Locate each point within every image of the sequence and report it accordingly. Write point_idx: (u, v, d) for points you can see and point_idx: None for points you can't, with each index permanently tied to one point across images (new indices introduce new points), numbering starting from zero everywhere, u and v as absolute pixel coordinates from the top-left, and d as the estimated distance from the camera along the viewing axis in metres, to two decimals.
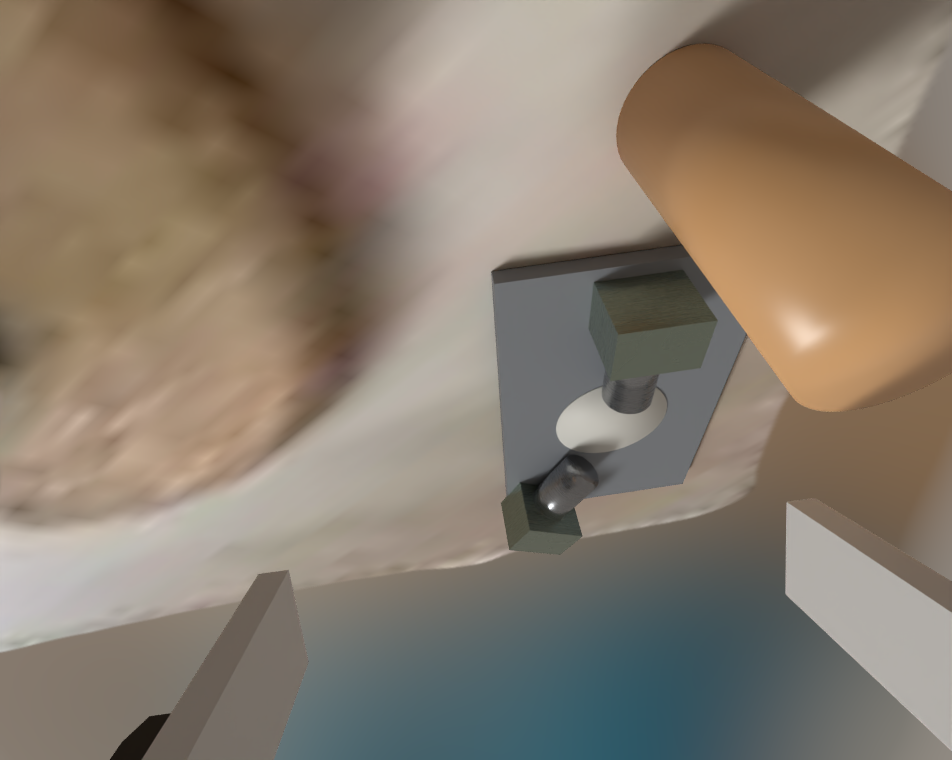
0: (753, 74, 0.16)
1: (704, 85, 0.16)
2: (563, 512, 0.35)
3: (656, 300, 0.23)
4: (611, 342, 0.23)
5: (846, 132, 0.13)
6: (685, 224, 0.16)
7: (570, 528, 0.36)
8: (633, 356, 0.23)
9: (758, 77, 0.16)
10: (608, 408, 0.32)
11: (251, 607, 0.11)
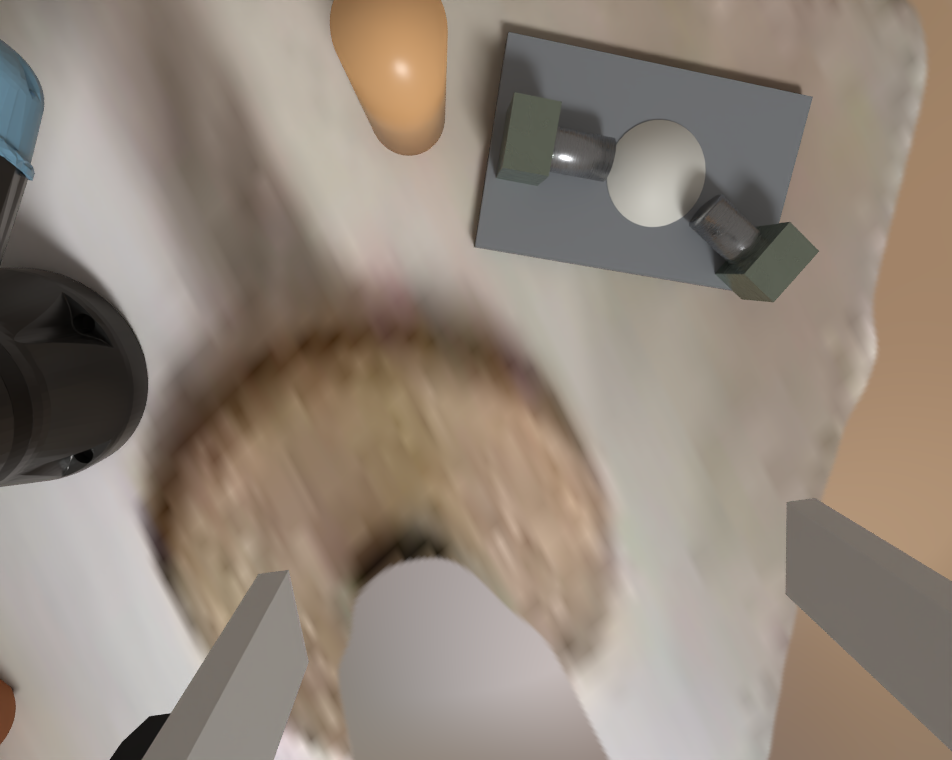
0: None
1: None
2: (747, 236, 0.35)
3: (505, 135, 0.33)
4: (516, 172, 0.33)
5: None
6: (399, 128, 0.29)
7: (775, 233, 0.34)
8: (528, 156, 0.32)
9: None
10: (638, 176, 0.36)
11: (250, 607, 0.11)
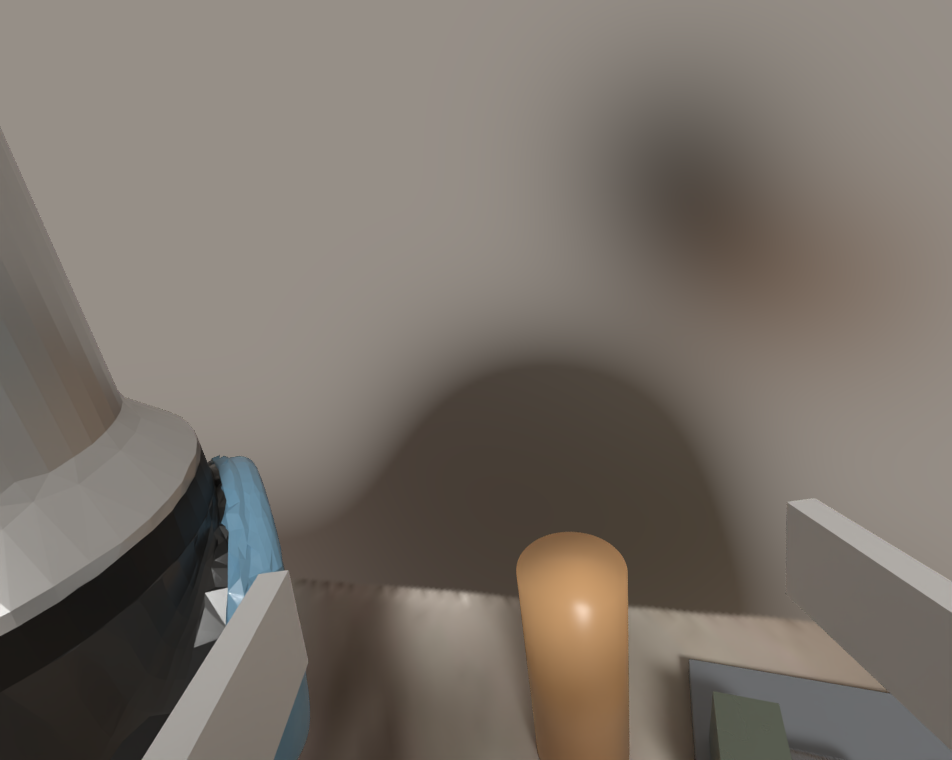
0: None
1: (533, 714, 0.28)
2: None
3: (715, 755, 0.25)
4: None
5: None
6: (575, 707, 0.24)
7: None
8: None
9: None
10: None
11: (250, 607, 0.11)
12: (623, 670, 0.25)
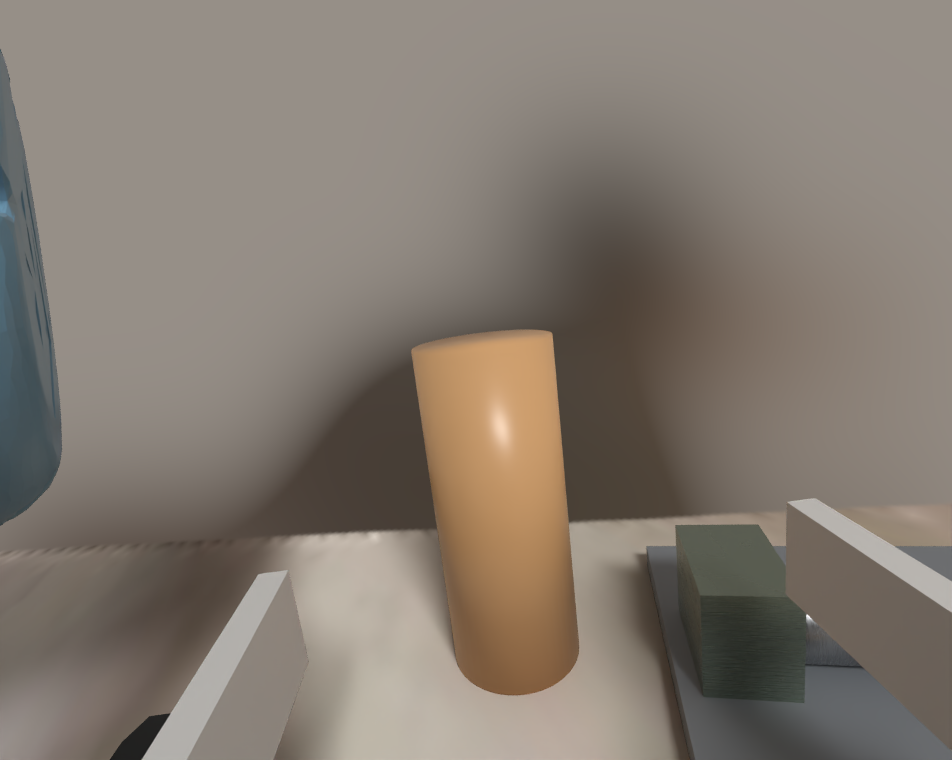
0: None
1: (446, 590, 0.20)
2: None
3: (687, 599, 0.19)
4: (735, 613, 0.16)
5: None
6: (496, 526, 0.17)
7: None
8: (743, 578, 0.17)
9: None
10: None
11: (251, 607, 0.11)
12: (557, 477, 0.18)
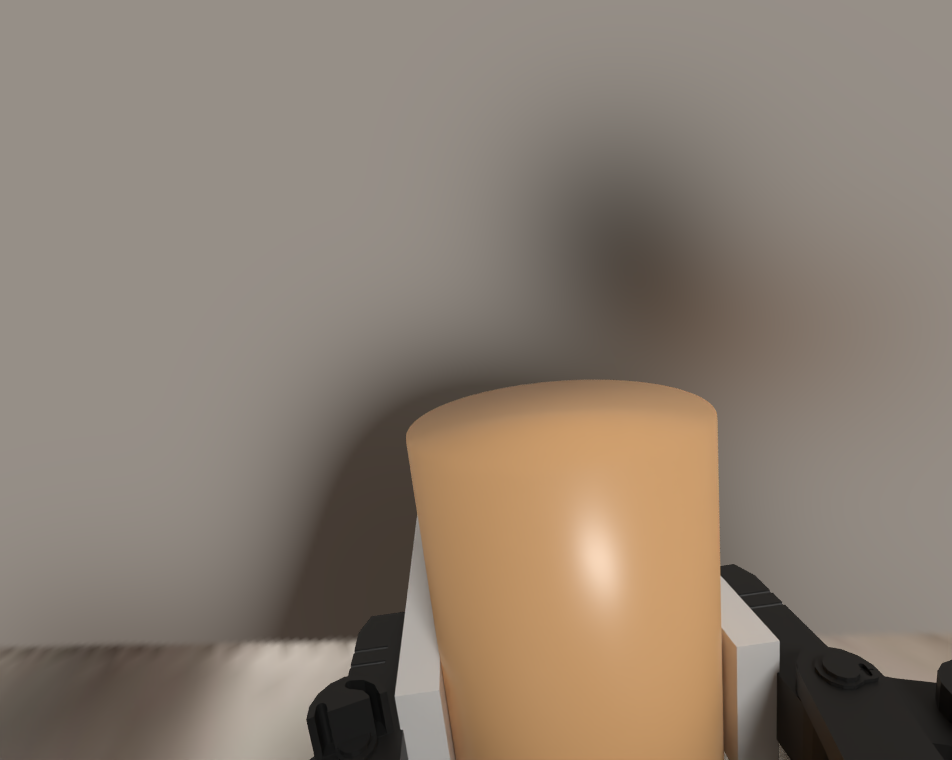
0: None
1: None
2: None
3: None
4: None
5: None
6: None
7: None
8: None
9: None
10: None
11: None
12: (720, 713, 0.09)
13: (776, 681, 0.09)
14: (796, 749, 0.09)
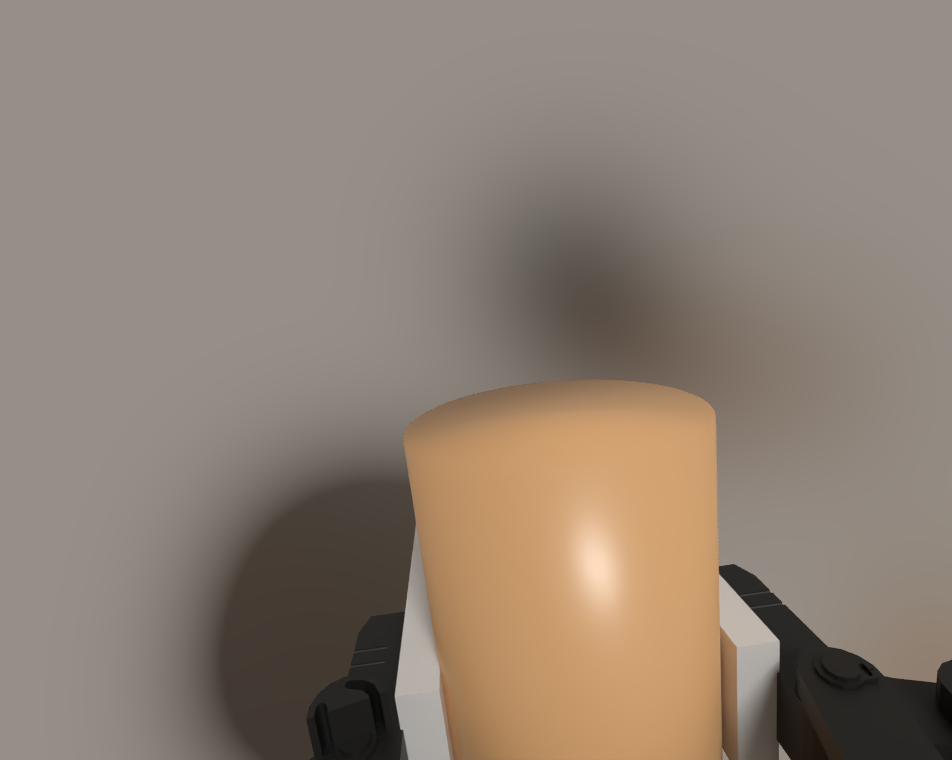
0: None
1: None
2: None
3: None
4: None
5: None
6: None
7: None
8: None
9: None
10: None
11: None
12: (719, 714, 0.08)
13: (776, 681, 0.09)
14: (796, 749, 0.09)
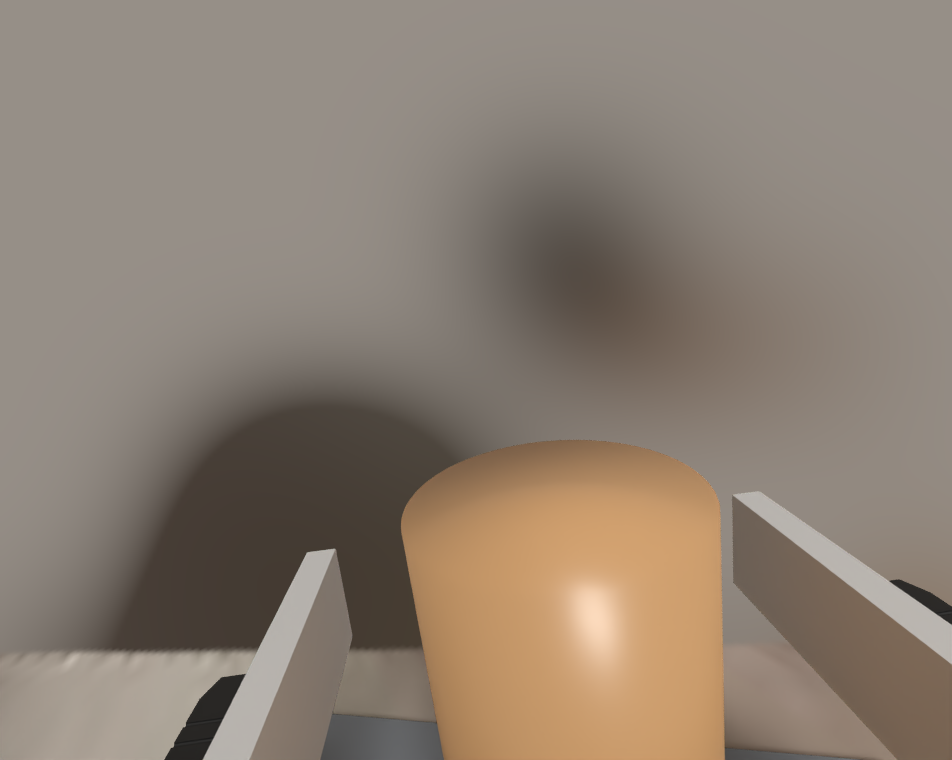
0: None
1: None
2: None
3: None
4: None
5: None
6: None
7: None
8: None
9: None
10: None
11: (305, 581, 0.12)
12: None
13: None
14: None
